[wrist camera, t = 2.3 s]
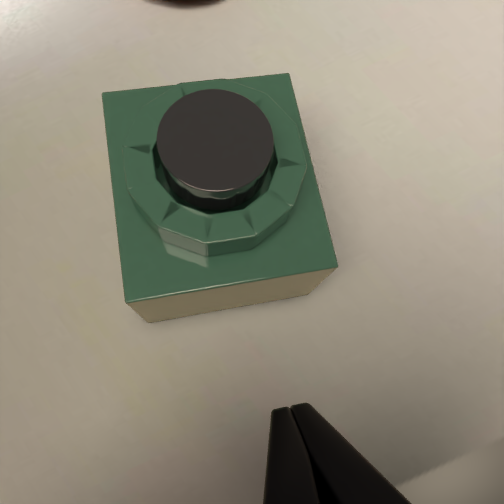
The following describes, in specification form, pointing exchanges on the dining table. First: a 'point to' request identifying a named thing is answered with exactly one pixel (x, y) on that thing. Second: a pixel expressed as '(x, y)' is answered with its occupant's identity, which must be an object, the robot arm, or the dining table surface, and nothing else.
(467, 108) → the dining table surface
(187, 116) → the dark round knob
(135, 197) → the button base
